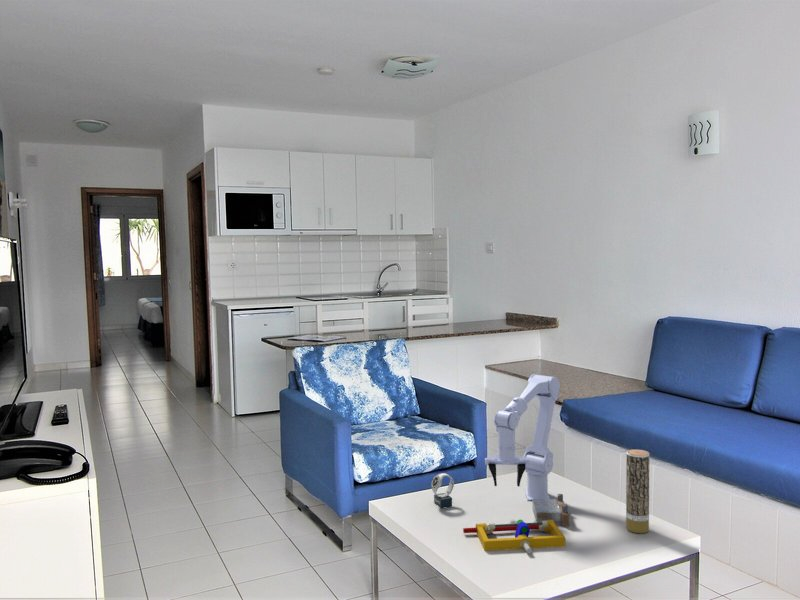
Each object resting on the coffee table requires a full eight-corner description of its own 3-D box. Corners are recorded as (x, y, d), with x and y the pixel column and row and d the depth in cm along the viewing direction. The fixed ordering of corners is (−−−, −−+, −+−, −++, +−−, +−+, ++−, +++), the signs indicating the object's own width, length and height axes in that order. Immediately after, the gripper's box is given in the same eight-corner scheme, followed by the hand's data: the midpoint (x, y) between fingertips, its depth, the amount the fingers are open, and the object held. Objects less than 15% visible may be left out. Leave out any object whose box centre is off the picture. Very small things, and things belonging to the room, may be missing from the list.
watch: (429, 504, 239) (428, 473, 238) (449, 500, 242) (449, 470, 241) (435, 509, 234) (435, 478, 233) (456, 505, 237) (456, 475, 236)
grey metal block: (532, 510, 232) (532, 499, 232) (555, 510, 232) (555, 499, 232) (536, 524, 221) (536, 512, 220) (561, 524, 220) (561, 512, 220)
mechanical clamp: (462, 514, 214) (554, 510, 216) (462, 533, 214) (554, 529, 217) (473, 539, 196) (574, 533, 198) (473, 559, 196) (574, 554, 198)
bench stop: (556, 509, 232) (556, 492, 232) (562, 509, 232) (562, 492, 232) (562, 526, 217) (562, 508, 217) (569, 526, 217) (569, 508, 217)
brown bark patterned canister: (653, 530, 213) (653, 453, 211) (640, 536, 209) (640, 457, 207) (634, 523, 219) (635, 448, 217) (621, 529, 215) (622, 452, 213)
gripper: (485, 449, 225) (485, 489, 226) (529, 449, 224) (529, 489, 225) (484, 443, 232) (485, 482, 233) (527, 443, 231) (527, 482, 232)
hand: (506, 485), depth 230 cm, fingers open, 7 cm apart
